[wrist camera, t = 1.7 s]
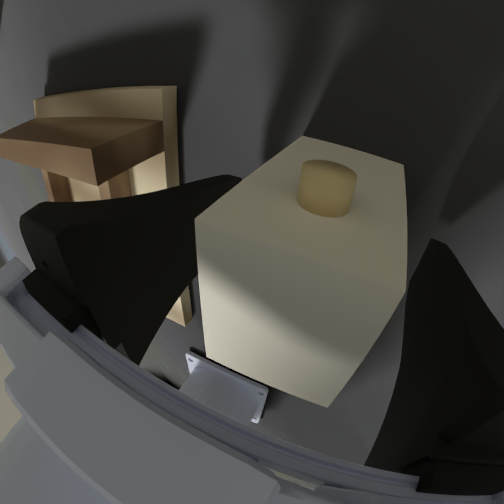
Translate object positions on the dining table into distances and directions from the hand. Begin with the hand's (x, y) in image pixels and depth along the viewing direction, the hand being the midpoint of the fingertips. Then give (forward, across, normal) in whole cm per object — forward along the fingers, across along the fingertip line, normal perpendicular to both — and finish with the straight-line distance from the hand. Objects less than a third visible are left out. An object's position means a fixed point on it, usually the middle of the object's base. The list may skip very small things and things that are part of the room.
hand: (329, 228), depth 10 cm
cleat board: (+2, +15, +4) cm, 16 cm away
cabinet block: (+2, 0, 0) cm, 2 cm away
